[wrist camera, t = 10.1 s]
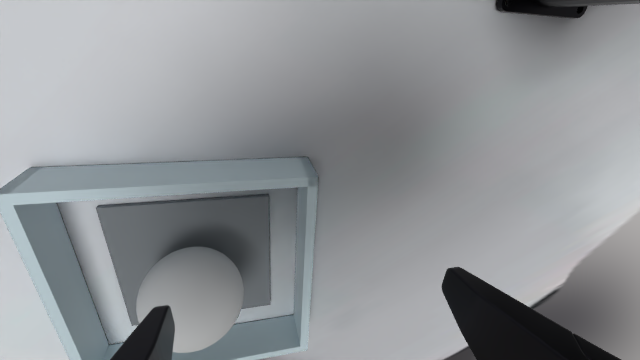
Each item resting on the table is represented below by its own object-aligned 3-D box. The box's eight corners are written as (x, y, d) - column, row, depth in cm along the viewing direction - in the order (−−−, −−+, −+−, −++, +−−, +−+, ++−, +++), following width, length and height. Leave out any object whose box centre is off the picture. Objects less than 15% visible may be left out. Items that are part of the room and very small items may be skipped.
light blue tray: (307, 156, 20) (318, 176, 18) (300, 318, 27) (307, 350, 24) (29, 167, 16) (-9, 194, 14) (101, 351, 23) (85, 393, 21)
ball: (239, 223, 21) (243, 289, 16) (243, 288, 24) (248, 363, 18) (140, 233, 19) (109, 310, 14) (157, 301, 22) (136, 387, 17)
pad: (268, 194, 21) (268, 196, 20) (269, 301, 25) (270, 304, 25) (97, 205, 18) (95, 208, 18) (133, 322, 23) (132, 325, 22)
